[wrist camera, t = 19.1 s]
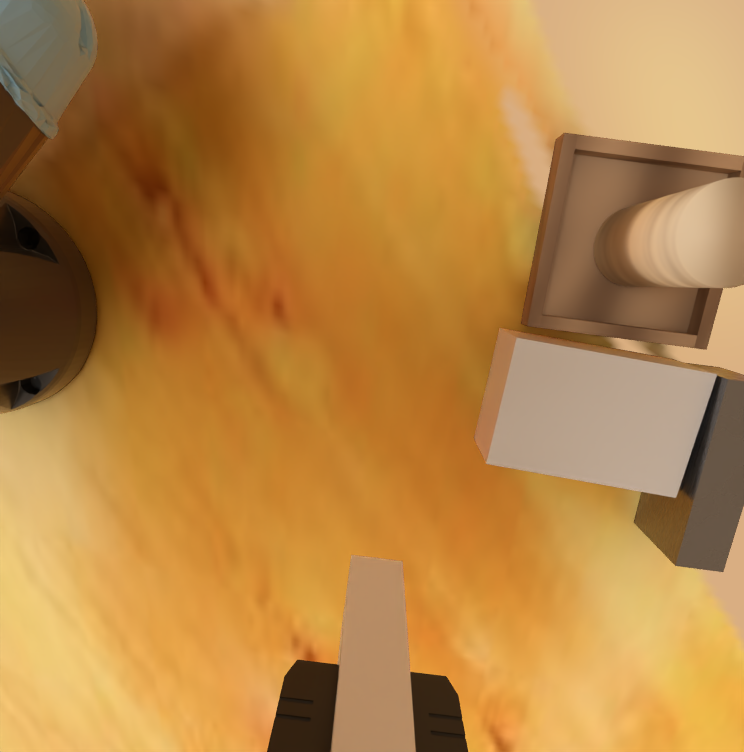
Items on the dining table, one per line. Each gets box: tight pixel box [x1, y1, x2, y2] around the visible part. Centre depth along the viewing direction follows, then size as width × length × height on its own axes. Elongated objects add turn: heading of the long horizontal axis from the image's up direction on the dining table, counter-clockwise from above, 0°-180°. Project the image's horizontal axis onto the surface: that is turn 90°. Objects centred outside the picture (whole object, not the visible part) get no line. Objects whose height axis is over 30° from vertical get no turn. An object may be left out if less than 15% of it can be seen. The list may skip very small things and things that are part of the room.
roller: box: [594, 177, 744, 288], centre depth 28 cm, size 5×5×9 cm
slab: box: [474, 328, 717, 498], centre depth 33 cm, size 12×8×5 cm, turn 80°
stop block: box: [634, 363, 744, 572], centre depth 33 cm, size 3×12×6 cm, turn 173°
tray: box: [521, 133, 744, 349], centre depth 33 cm, size 12×12×2 cm
